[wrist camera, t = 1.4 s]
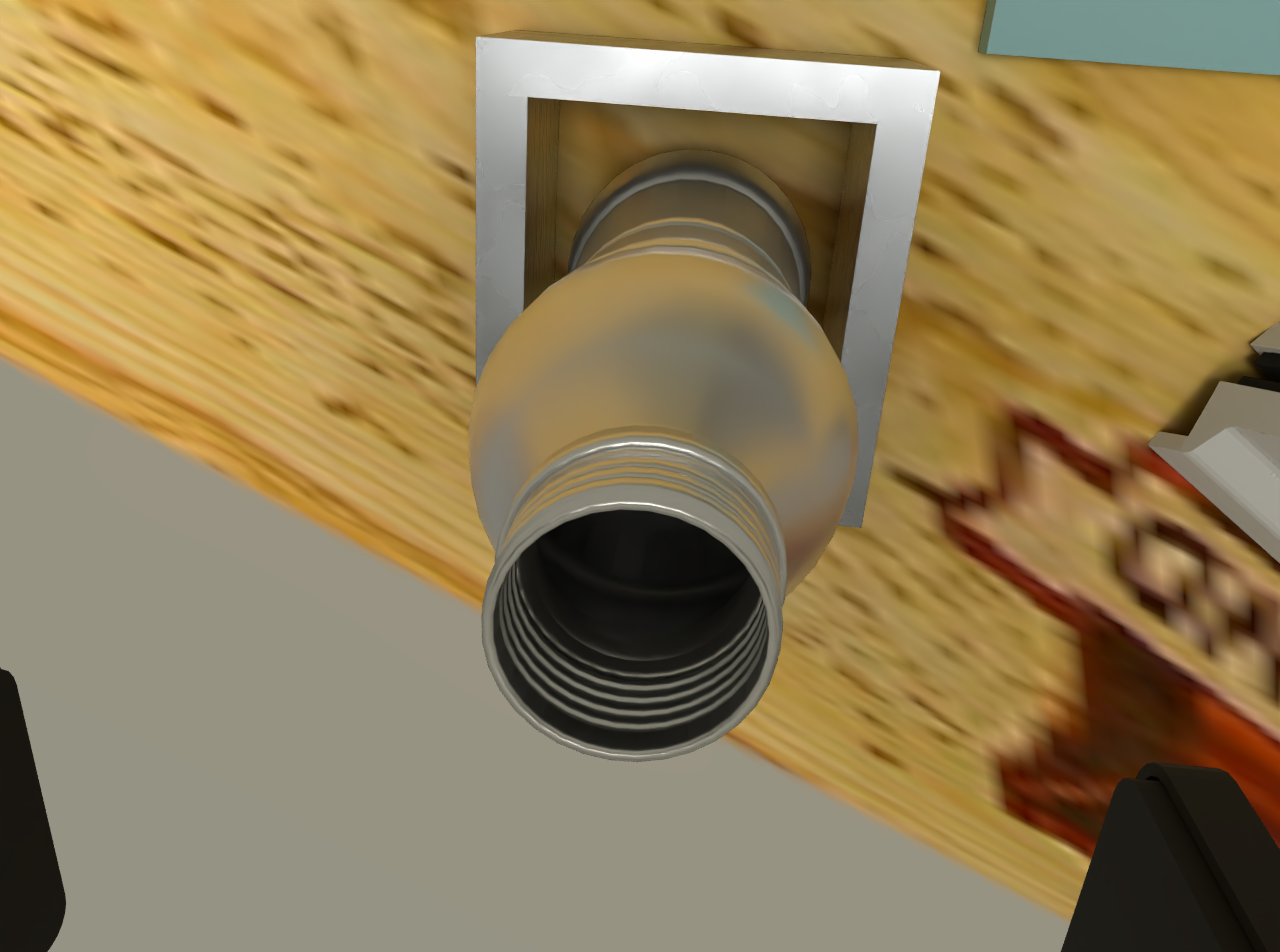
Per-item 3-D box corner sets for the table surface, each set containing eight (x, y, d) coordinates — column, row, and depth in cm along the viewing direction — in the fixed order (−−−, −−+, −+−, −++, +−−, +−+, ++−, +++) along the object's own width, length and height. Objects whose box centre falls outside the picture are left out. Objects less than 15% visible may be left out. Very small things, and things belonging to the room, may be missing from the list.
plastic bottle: (552, 325, 32) (309, 767, 14) (623, 100, 29) (433, 279, 11) (754, 396, 32) (778, 917, 14) (843, 181, 29) (1017, 484, 11)
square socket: (844, 453, 33) (861, 527, 28) (511, 423, 33) (475, 490, 29) (907, 59, 28) (940, 71, 23) (517, 30, 28) (476, 36, 24)
